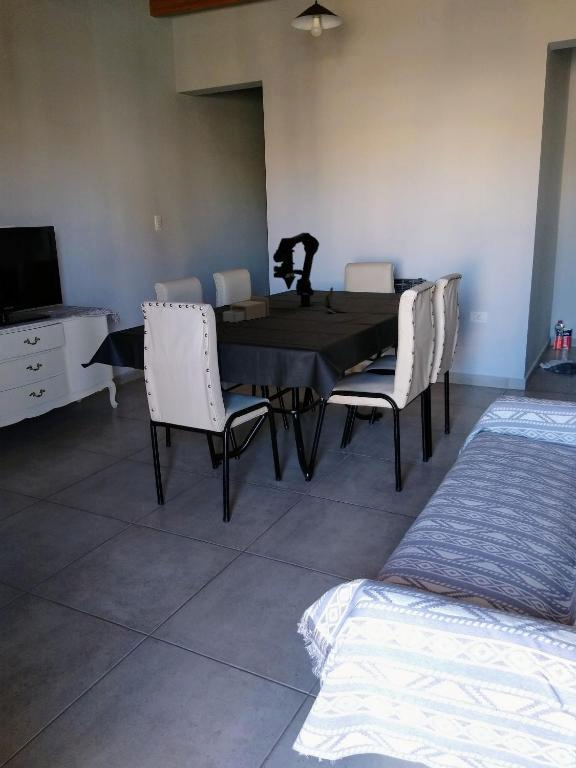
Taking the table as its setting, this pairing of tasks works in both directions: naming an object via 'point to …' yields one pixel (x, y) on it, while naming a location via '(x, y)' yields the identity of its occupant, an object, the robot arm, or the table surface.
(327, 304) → the butterfly
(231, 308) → the sleeve
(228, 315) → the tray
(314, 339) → the table surface
